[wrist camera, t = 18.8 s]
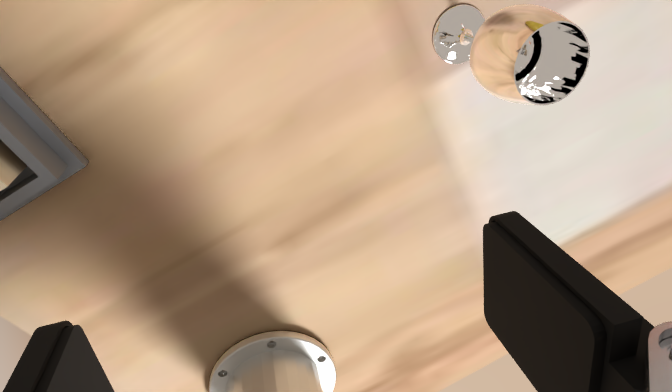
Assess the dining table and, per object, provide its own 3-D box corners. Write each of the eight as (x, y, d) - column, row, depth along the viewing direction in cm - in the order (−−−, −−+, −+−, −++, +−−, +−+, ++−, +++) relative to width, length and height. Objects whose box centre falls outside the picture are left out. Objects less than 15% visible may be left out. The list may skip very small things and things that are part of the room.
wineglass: (409, 43, 37) (484, 76, 26) (459, -23, 36) (559, -15, 25) (459, 86, 39) (545, 133, 29) (508, 27, 38) (617, 53, 27)
